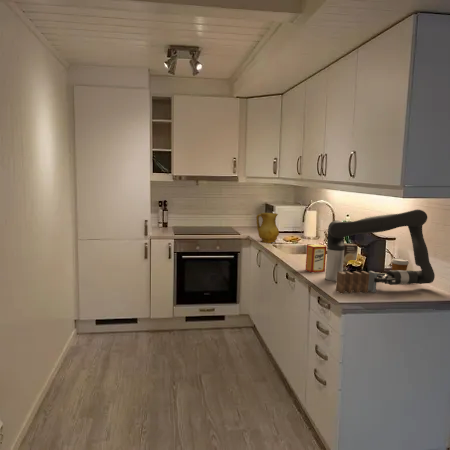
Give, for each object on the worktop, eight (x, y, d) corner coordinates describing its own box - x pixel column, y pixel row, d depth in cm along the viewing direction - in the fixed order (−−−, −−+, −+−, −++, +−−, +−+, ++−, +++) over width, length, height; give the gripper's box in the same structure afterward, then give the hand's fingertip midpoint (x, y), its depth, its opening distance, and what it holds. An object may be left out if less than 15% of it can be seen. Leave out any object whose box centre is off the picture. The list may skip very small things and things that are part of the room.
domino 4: (362, 289, 224) (363, 271, 223) (367, 292, 219) (369, 273, 218) (359, 290, 223) (361, 271, 222) (364, 292, 219) (366, 273, 217)
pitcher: (267, 243, 353) (268, 213, 352) (252, 241, 368) (254, 212, 367) (282, 243, 363) (284, 213, 362) (268, 240, 378) (269, 212, 377)
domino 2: (346, 290, 222) (348, 271, 220) (351, 293, 217) (353, 273, 216) (343, 290, 221) (345, 271, 220) (348, 293, 216) (350, 273, 215)
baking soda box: (318, 269, 268) (320, 244, 266) (324, 271, 262) (326, 245, 260) (305, 270, 264) (307, 244, 262) (311, 272, 258) (313, 246, 256)
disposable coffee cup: (400, 282, 242) (402, 262, 241) (385, 279, 250) (387, 258, 248) (410, 281, 247) (412, 260, 246) (396, 277, 255) (397, 257, 254)
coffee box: (341, 270, 268) (343, 244, 266) (338, 268, 274) (340, 243, 272) (356, 270, 268) (358, 245, 266) (352, 268, 274) (354, 243, 272)
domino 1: (338, 290, 221) (340, 271, 219) (343, 293, 216) (345, 273, 214) (335, 290, 220) (337, 271, 219) (340, 293, 215) (342, 273, 214)
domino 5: (370, 289, 225) (371, 270, 224) (375, 292, 220) (377, 273, 219) (367, 289, 225) (368, 271, 223) (372, 292, 220) (374, 273, 219)
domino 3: (354, 290, 223) (356, 271, 222) (359, 292, 218) (361, 273, 217) (351, 290, 222) (353, 271, 221) (356, 293, 218) (358, 273, 216)
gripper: (389, 267, 232) (362, 267, 228) (406, 273, 218) (378, 274, 214) (388, 281, 232) (361, 281, 228) (405, 288, 219) (377, 289, 215)
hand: (369, 278), depth 221 cm, fingers open, 8 cm apart
